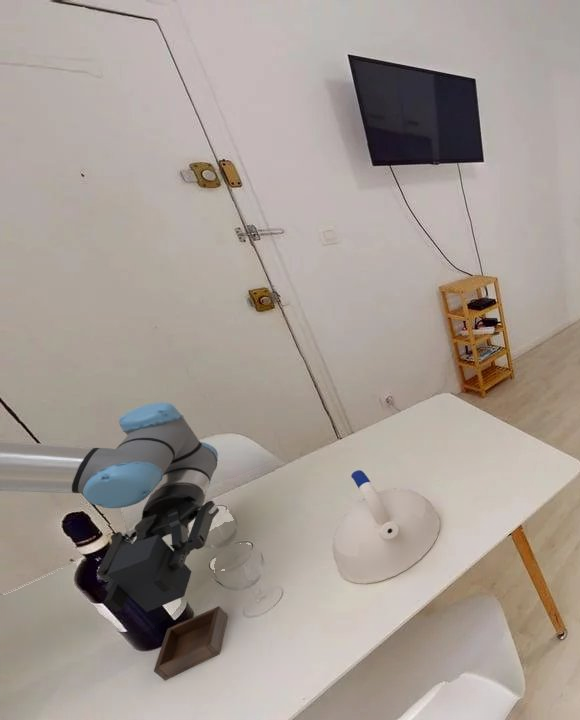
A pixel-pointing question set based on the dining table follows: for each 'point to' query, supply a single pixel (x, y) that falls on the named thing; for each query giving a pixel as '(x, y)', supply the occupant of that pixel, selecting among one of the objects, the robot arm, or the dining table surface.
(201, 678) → the dining table surface
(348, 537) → the white plastic funnel
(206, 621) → the tray
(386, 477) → the dining table surface
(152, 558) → the dark gray block
